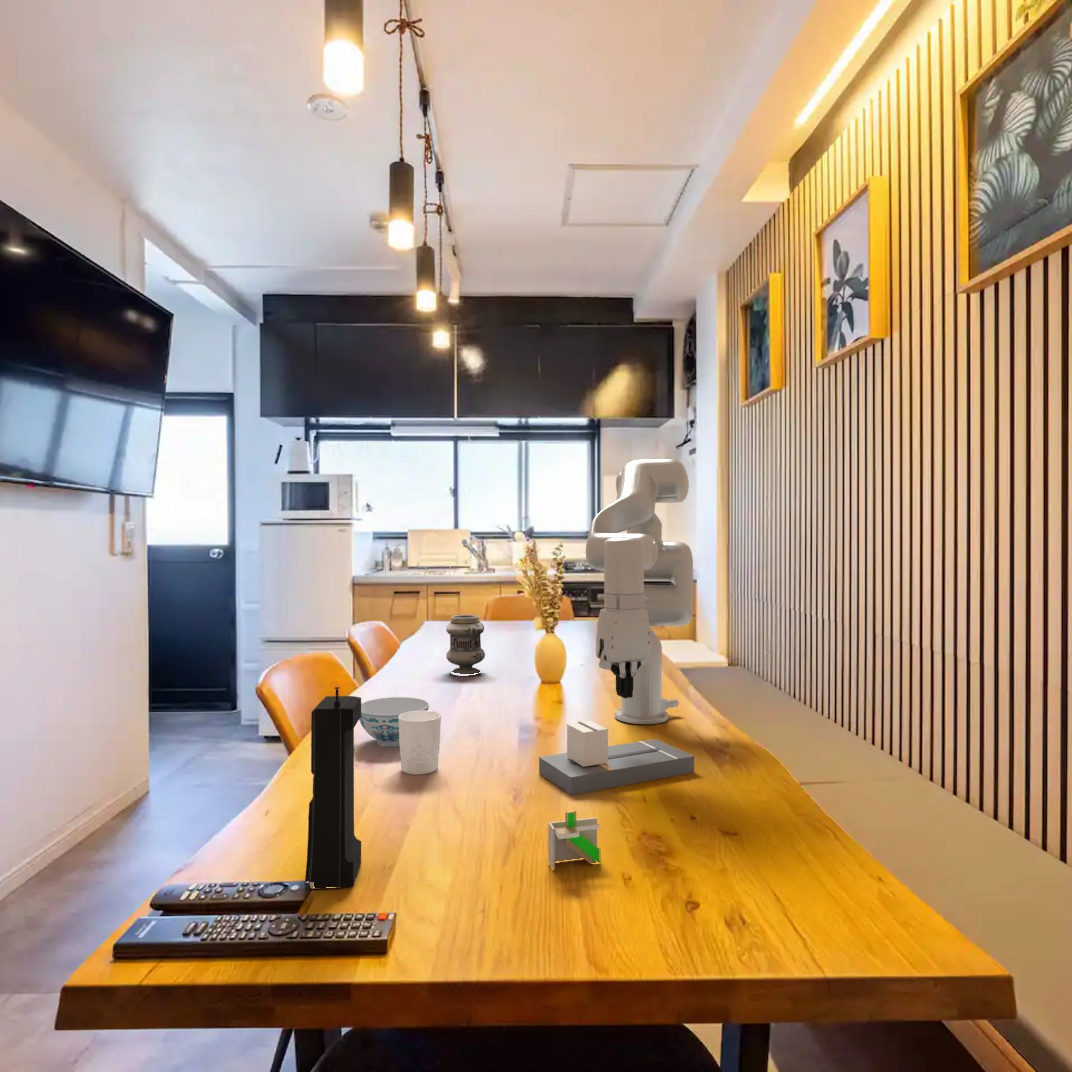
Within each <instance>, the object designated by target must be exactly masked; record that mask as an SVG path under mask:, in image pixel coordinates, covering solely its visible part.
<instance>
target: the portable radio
mask: <svg viewBox="0 0 1072 1072" xmlns="http://www.w3.org/2000/svg"><path fill="white" fill-rule="evenodd" d="M334 689H335V695H334V696H332V695H331V696H328V695H327V696H324V698H323V699H322V700H321V701H319V703H318V704H317V705H316V706H315V707H314V708H313V709H312V711H311V713H310V714H311V719H310V720H311V721H310V722H311V725H310V726H311V727H310V729H311V732H310V737H311V738H310V743H311V744H310V750H311V751H310V754H311V755H310V772H311V774H312V775H313V777H312V798H311V800H310V801H309V803H308V815H307V816H308V817H307V818H308V823H307V824H308V826H307V827H308V829H307V830H308V831H307V848H306V849H307V850H306V851H307V853H306V868H305V878H304V882H305V881H306V882H307V881H309V882H314V887H315V888H326V887H343V888H346V887H345V886H348V887H350V886H349V885H352V886H355V884H354V882H355V883H356V881H355V879H356V880H357V878H356V877H358V875H359V872H360V869H361V866H362V840H360V839H358V838H357V837H356V835H355V754H354V753H355V733H354V732H355V727H356V725H357V723H358V722H359V719H360V717H361V703H362V697H359V696H354V695H339V689H341V686H340V687H338V686H335V687H334ZM360 865H361V866H360ZM359 868H360V869H359ZM358 871H359V872H358ZM357 874H358V875H357Z"/></svg>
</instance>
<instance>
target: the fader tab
mask: <svg viewBox="0 0 1072 1072" xmlns="http://www.w3.org/2000/svg"><path fill="white" fill-rule="evenodd" d="M608 746H609V729H608V728H607V727H604V726H602V725H601V724H598V723H597V722H594V721H591V720H587V721H577V722H573V723H567V724H566V753H567V757H568V758H570V759H571V760H573V761H575V762H576V763H578V764H580V765H581V766H583V767H585V766H591V765H597V764H603V763H608Z"/></svg>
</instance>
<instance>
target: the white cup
mask: <svg viewBox="0 0 1072 1072" xmlns="http://www.w3.org/2000/svg"><path fill="white" fill-rule="evenodd" d="M441 721H442V715H441V713H439V712H437V711H434V710H428V711H410V712H406V713H402V714H400V715H399V716H398V723H399V745H400V746H399V755H400V770H401V771H402V773H404V774H406V775H407V774H409V775H419V776H421V775H427V774H430V773H433V772H436V771H437V769H438V768H439V754H440V743H441V725H442V723H441Z"/></svg>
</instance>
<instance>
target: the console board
mask: <svg viewBox="0 0 1072 1072" xmlns="http://www.w3.org/2000/svg"><path fill="white" fill-rule="evenodd" d="M538 766H539V767H538V774H539V775H541V776H542V777H544V778H545V779H547V780H550V781H549V782H551V783H552V782H553V784H554V785H555V786H557V787H558V788H559V789H561V790H562V791H564V792H565V793H567V794H568V795H570V796H573V795H579V793H580V794H585V793H589V792H590V793H591V792H595V791H601V790H605V789H606V790H607V789H611V788H616V787H622V786H628V785H633V784H639V783H643V782H648V781H654V780H660V779H665V778H670V777H676V776H681V775H687V774H692V773H695V756H694V755H693V754H691V753H689V752H686V751H684V750H681V749H680V748H677V747H675V746H672V745H670V744H668V743H666V742H663V741H662V740H659V739H657V738H654V739H649V740H637V741H634V742H629V743H622V744H615V745H608V763H603V764H597V765H591V766H585V767H583V766H581V765H580V764H578V763H576V762H575V761H573V760H571V759H570V758H568V757H567V752H563V753H557V754H551V755H544V756H539V757H538Z"/></svg>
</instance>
